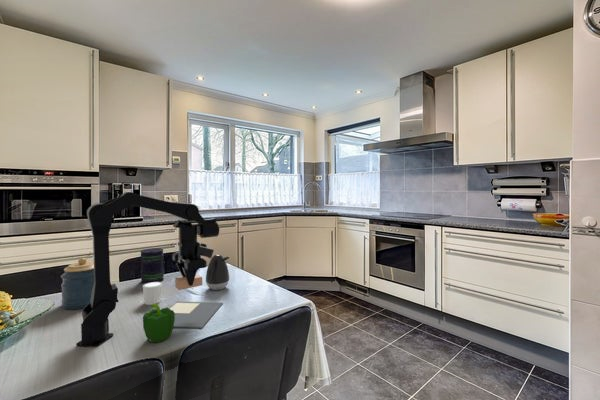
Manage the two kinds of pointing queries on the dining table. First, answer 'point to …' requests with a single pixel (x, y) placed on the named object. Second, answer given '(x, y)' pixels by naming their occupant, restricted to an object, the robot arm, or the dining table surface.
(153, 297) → the white cup
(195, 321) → the rubber mat
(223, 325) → the dining table surface
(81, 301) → the canister
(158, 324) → the bell pepper
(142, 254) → the storage jar
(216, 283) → the pump dispenser
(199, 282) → the flat block
